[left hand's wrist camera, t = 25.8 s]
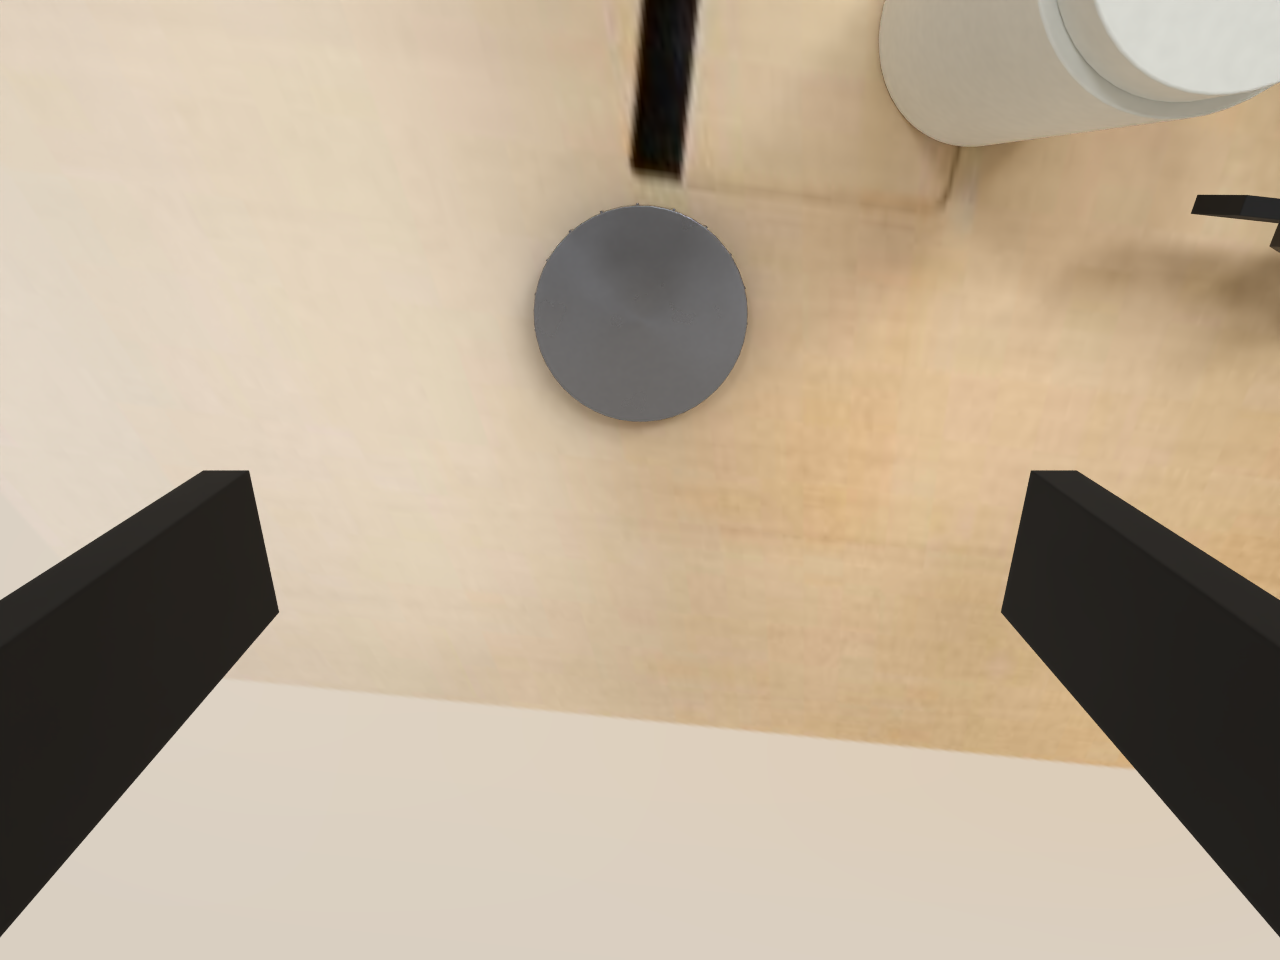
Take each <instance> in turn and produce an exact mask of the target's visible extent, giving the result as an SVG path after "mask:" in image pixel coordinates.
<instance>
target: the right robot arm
mask: <svg viewBox="0 0 1280 960" xmlns="http://www.w3.org/2000/svg"><path fill="white" fill-rule="evenodd" d="M1191 214H1199V215H1208V216H1217V217H1226V218H1235V219H1245V220H1254V221H1263V222H1272V223H1279V224H1278V226H1277V229H1276V231H1275V234H1274V236H1273V239H1272V241H1271V244H1270V247H1271V248H1273V249H1275V250H1276V251H1278V252H1280V199H1277V198H1268V197H1259V196H1250V195H1197V198H1196V201H1195V203H1194V206H1193V209H1192V212H1191Z"/></svg>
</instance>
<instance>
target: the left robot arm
mask: <svg viewBox="0 0 1280 960" xmlns="http://www.w3.org/2000/svg"><path fill="white" fill-rule="evenodd" d="M278 613H279V610H278V605H277V600H276V596H275V591H274V586H273V581H272V577H271V572H270V567H269V563H268V558H267V553H266V548H265V544H264V539H263V534H262V530H261V525H260V520H259V515H258V511H257V506H256V501H255V497H254V492H253V487H252V482H251V478H250V473H249V471H202V472H200V473H199V474H197V475H196V476H194V477H192V478H191V479H189V480H188V481H186V482H185V483H183V484H182V485H180V486H178V487H177V488H175V489H174V490H172V491H171V492H169V493H167V494H166V495H164V496H163V497H161V498H160V499H158V500H156V501H155V502H153V503H152V504H150V505H149V506H147V507H145V508H144V509H142V510H141V511H139V512H138V513H136V514H135V515H133V516H131V517H130V518H128V519H127V520H125V521H124V522H122V523H120V524H119V525H117V526H116V527H114V528H113V529H111V530H109V531H108V532H106V533H105V534H103V535H102V536H100V537H99V538H97V539H95V540H94V541H92V542H91V543H89V544H88V545H86V546H84V547H83V548H81V549H80V550H78V551H77V552H75V553H73V554H72V555H70V556H69V557H67V558H66V559H64V560H62V561H61V562H59V563H58V564H56V565H55V566H53V567H52V568H50V569H48V570H47V571H45V572H44V573H42V574H41V575H39V576H38V577H36V578H34V579H33V580H31V581H30V582H28V583H26V584H25V585H23V586H22V587H20V588H19V589H17V590H16V591H14V592H12V593H11V594H9V595H8V596H6V597H5V598H3V599H1V600H0V937H1V936H2V934H3V933H4V932H5V931H6V930H7V929H8V927H9V926H10V925H11V924H12V923H13V922H14V920H15V919H16V918H17V917H18V916H19V915H20V913H21V912H22V911H23V910H24V909H25V908H26V906H27V905H28V904H29V903H30V902H31V901H32V899H33V898H34V897H35V896H36V895H37V894H38V892H39V891H40V890H41V889H42V888H43V887H44V885H45V884H46V883H47V882H48V881H49V880H50V878H51V877H52V876H53V875H54V874H55V873H56V872H57V870H58V869H59V868H60V867H61V866H62V865H63V863H64V862H65V861H66V860H67V859H68V858H69V856H70V855H71V854H72V853H73V852H74V850H75V849H76V848H77V847H78V846H79V845H80V844H81V842H82V841H83V840H84V839H85V838H86V837H87V835H88V834H89V833H90V832H91V831H92V830H93V828H94V827H95V826H96V825H97V824H98V823H99V821H100V820H101V819H102V818H103V817H104V816H105V814H106V813H107V812H108V811H109V810H110V809H111V807H112V806H113V805H114V804H115V803H116V802H117V800H118V799H119V798H120V797H121V796H122V795H123V793H124V792H125V791H126V790H127V789H128V788H129V786H130V785H131V784H132V783H133V782H134V781H135V779H136V778H137V777H138V776H139V775H140V774H141V772H142V771H143V770H144V769H145V768H146V767H147V765H148V764H149V763H150V762H151V761H152V760H153V758H154V757H155V756H156V755H157V754H158V753H159V752H160V750H161V749H162V748H163V747H164V746H165V745H166V743H167V742H168V741H169V740H170V739H171V738H172V736H173V735H174V734H175V733H176V732H177V731H178V729H179V728H180V727H181V726H182V725H183V724H184V722H185V721H186V720H187V719H188V718H189V716H190V715H191V714H192V713H193V712H194V711H195V710H196V708H197V707H198V706H199V705H200V704H201V703H202V701H203V700H204V699H205V698H206V697H207V696H208V694H209V693H210V692H211V691H212V690H213V689H214V687H215V686H216V685H217V684H218V683H219V682H220V680H221V679H222V678H223V677H224V676H225V675H226V673H227V672H228V671H229V670H230V669H231V668H232V666H233V665H234V664H235V663H236V662H237V661H238V659H239V658H240V657H241V656H242V655H243V654H244V652H245V651H246V650H247V649H248V648H249V647H250V645H251V644H252V643H253V642H254V641H255V640H256V639H257V637H258V636H259V635H260V634H261V633H262V632H263V630H264V629H265V628H266V627H267V626H268V625H269V623H270V622H271V621H272V620H273V619H274V618H275V616H276V615H277V614H278ZM1001 613H1002V614H1003V615H1004V616H1005V618H1006V619H1007V620H1008V621H1009V622H1010V623H1011V625H1012V626H1013V627H1014V628H1015V629H1016V630H1017V632H1018V633H1019V634H1020V635H1021V636H1022V637H1023V639H1024V640H1025V641H1026V642H1027V643H1028V644H1029V645H1030V647H1031V648H1032V649H1033V650H1034V651H1035V652H1036V654H1037V655H1038V656H1039V657H1040V658H1041V659H1042V661H1043V662H1044V663H1045V664H1046V665H1047V666H1048V668H1049V669H1050V670H1051V671H1052V672H1053V673H1054V675H1055V676H1056V677H1057V678H1058V679H1059V680H1060V682H1061V683H1062V684H1063V685H1064V686H1065V687H1066V689H1067V690H1068V691H1069V692H1070V693H1071V694H1072V696H1073V697H1074V698H1075V699H1076V700H1077V701H1078V703H1079V704H1080V705H1081V706H1082V707H1083V708H1084V710H1085V711H1086V712H1087V713H1088V714H1089V715H1090V717H1091V718H1092V719H1093V720H1094V721H1095V722H1096V724H1097V725H1098V726H1099V727H1100V728H1101V729H1102V731H1103V732H1104V733H1105V734H1106V735H1107V736H1108V738H1109V739H1110V740H1111V741H1112V742H1113V743H1114V745H1115V746H1116V747H1117V748H1118V749H1119V750H1120V752H1121V753H1122V754H1123V755H1124V756H1125V757H1126V759H1127V760H1128V761H1129V762H1130V763H1131V764H1132V765H1133V767H1134V768H1135V769H1136V770H1137V771H1138V772H1139V774H1140V775H1141V776H1142V777H1143V778H1144V779H1145V781H1146V782H1147V783H1148V784H1149V785H1150V786H1151V788H1152V789H1153V790H1154V791H1155V792H1156V793H1157V795H1158V796H1159V797H1160V798H1161V799H1162V800H1163V802H1164V803H1165V804H1166V805H1167V806H1168V807H1169V809H1170V810H1171V811H1172V812H1173V813H1174V814H1175V815H1176V817H1177V818H1178V819H1179V820H1180V821H1181V823H1182V824H1183V825H1184V826H1185V827H1186V828H1187V830H1188V831H1189V832H1190V833H1191V834H1192V835H1193V837H1194V838H1195V839H1196V840H1197V841H1198V842H1199V844H1200V845H1201V846H1202V847H1203V848H1204V849H1205V851H1206V852H1207V853H1208V854H1209V855H1210V856H1211V858H1212V859H1213V860H1214V861H1215V862H1216V863H1217V865H1218V866H1219V867H1220V868H1221V869H1222V870H1223V872H1224V873H1225V874H1226V875H1227V876H1228V877H1229V878H1230V880H1231V881H1232V882H1233V883H1234V884H1235V885H1236V887H1237V888H1238V889H1239V890H1240V891H1241V892H1242V894H1243V895H1244V896H1245V897H1246V898H1247V899H1248V901H1249V902H1250V903H1251V904H1252V905H1253V906H1254V908H1255V909H1256V910H1257V911H1258V912H1259V913H1260V915H1261V916H1262V917H1263V918H1264V919H1265V920H1266V922H1267V923H1268V924H1269V925H1270V926H1271V927H1272V929H1273V930H1274V931H1275V932H1276V933H1277V934H1278V936H1279V937H1280V600H1279V599H1277V598H1275V597H1274V596H1272V595H1271V594H1269V593H1268V592H1266V591H1264V590H1263V589H1261V588H1260V587H1258V586H1257V585H1255V584H1254V583H1252V582H1250V581H1249V580H1247V579H1246V578H1244V577H1243V576H1241V575H1239V574H1238V573H1236V572H1235V571H1233V570H1232V569H1230V568H1228V567H1227V566H1225V565H1224V564H1222V563H1221V562H1219V561H1218V560H1216V559H1214V558H1213V557H1211V556H1210V555H1208V554H1207V553H1205V552H1203V551H1202V550H1200V549H1199V548H1197V547H1196V546H1194V545H1192V544H1191V543H1189V542H1188V541H1186V540H1185V539H1183V538H1181V537H1180V536H1178V535H1177V534H1175V533H1174V532H1172V531H1171V530H1169V529H1167V528H1166V527H1164V526H1163V525H1161V524H1160V523H1158V522H1156V521H1155V520H1153V519H1152V518H1150V517H1149V516H1147V515H1145V514H1144V513H1142V512H1141V511H1139V510H1138V509H1136V508H1135V507H1133V506H1131V505H1130V504H1128V503H1127V502H1125V501H1124V500H1122V499H1120V498H1119V497H1117V496H1116V495H1114V494H1113V493H1111V492H1109V491H1108V490H1106V489H1105V488H1103V487H1102V486H1100V485H1098V484H1097V483H1095V482H1094V481H1092V480H1091V479H1089V478H1088V477H1086V476H1084V475H1083V474H1081V473H1080V472H1078V471H1031V473H1030V478H1029V482H1028V487H1027V492H1026V497H1025V501H1024V506H1023V511H1022V515H1021V520H1020V525H1019V530H1018V534H1017V539H1016V544H1015V548H1014V553H1013V558H1012V563H1011V567H1010V572H1009V577H1008V581H1007V586H1006V591H1005V596H1004V600H1003V605H1002V610H1001Z"/></svg>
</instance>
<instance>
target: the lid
mask: <svg viewBox="0 0 1280 960" xmlns="http://www.w3.org/2000/svg"><path fill="white" fill-rule="evenodd" d="M707 228H708V227H707V226H705V225H701V224H700V223H698V222H696V221H695V220H693V219H692V218H690V217H688V216H686V215H683V214H681V213H679V212H677V211H675V209H674V208H672V209H667V208H664V207H659V206H652V205H639V203H636V205H630V206H622V207H618V208H614V209H610V210H607V211H605V212H604V210H602V211H600V214H598V215H595V216H593V217H592V218H590V219H588V220H587V221H585V222H583V223H582V224H580V225H579V226H578V227H576V228H575V229H571V230H570V231H569V234H568V235H567V236H566V237H565V238H564V239H563V240H562V241H561V242H560V243H559V244H558V246H557V247H556V249H555V250H554V251H553V253H552V254H551V256H550V257H549V258H548V259H547V260H546V261H547V263H546V265H545V267H544V269H543V271H542V274H541V277H540V279H539V282H538V286H537V291H536V293H535V304H534V325H535V331H536V337H537V341H538V344H539V348H540V351H541V353H542V356H543V358H544V360H545V362H546V365H547V366H548V368H549V369H550V371H551V373H552V374H553V376H554V377H555V379H556V380H557V381H558V382H559V384H560V385H561V386H562V387H563V388H564V389H565V390H566V391H567V392H568V393H569V394H570V395H571V396H572V397H574V398H575V399H576V400H578V401H579V402H580V403H582V404H583V405H585V406H586V407H588V408H590V409H592V410H593V411H596V412H598V413H600V414H603V415H605V416H608V417H612V418H616V419H619V420H626V421H642V422H646V421H655V420H661V419H665V418H670V417H673V416H676V415H678V414H681V413H684V412H686V411H688V410H689V409H691V408H693V407H695V406H697V405H698V404H700V403H701V402H702V401H704V400H705V399H707V398H708V397H709V396H710V395H711V394H712V393H713V392H714V391H716V390H717V389H718V387H719V386H720V385H721V384H722V383H723V382H724V380H725V379H726V378H727V376H728V375H729V373H730V372H731V370H732V369H733V367H734V365H735V363H736V361H737V359H738V357H739V355H740V352H741V349H742V346H743V343H744V338H745V333H746V328H747V299H746V294H745V286H744V284H743V281H742V278H741V275H740V272H739V270H738V268H737V266H736V264H735V262H734V260H733V258H732V257H731V255H732V254H731V253H730V252H728V251H727V249H726V248H725V246H724V245H723V244H722V243H721V242H720V241H719V240H718V239H717V237H716V236H715V235H713V234H712V233H711V232H710V231H709V230H708V229H707Z"/></svg>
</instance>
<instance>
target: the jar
mask: <svg viewBox="0 0 1280 960" xmlns="http://www.w3.org/2000/svg"><path fill="white" fill-rule="evenodd" d="M879 56H880V63H881V70H882V73H883V77H884V80H885V84H886V86H887V89H888V91H889V93H890V96H891V98H892V100H893V101H894V103H895V105H896V106H897V108H898V110H899V111H900V112H901V113H902V114H903V116H904V117H905V118H906V119H907V120H908V121H909V122H910V123H911V124H912V125H913V126H914V127H915V128H916V129H918V130H919V131H921V132H922V133H924V134H925V135H927V136H929V137H931V138H933V139H935V140H937V141H939V142H943V143H947V144H950V145H955V146H963V147H976V146H986V145H993V144H1001V143H1008V142H1016V141H1023V140H1031V139H1038V138H1046V137H1053V136H1061V135H1068V134H1076V133H1083V132H1091V131H1098V130H1106V129H1113V128H1121V127H1128V126H1135V125H1143V124H1150V123H1158V122H1165V121H1173V120H1180V119H1187V118H1193V117H1199V116H1205V115H1208V114H1212V113H1215V112H1218V111H1222V110H1225V109H1228V108H1230V107H1232V106H1235V105H1237V104H1239V103H1242V102H1244V101H1246V100H1249V99H1251V98H1252V97H1254V96H1256V95H1258V94H1259V93H1261V92H1263V91H1265V90H1266V89H1268V88H1270V87H1272V86H1273V85H1274V84H1277V83H1279V82H1280V0H885V2H884V5H883V10H882V15H881V20H880V30H879Z"/></svg>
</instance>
